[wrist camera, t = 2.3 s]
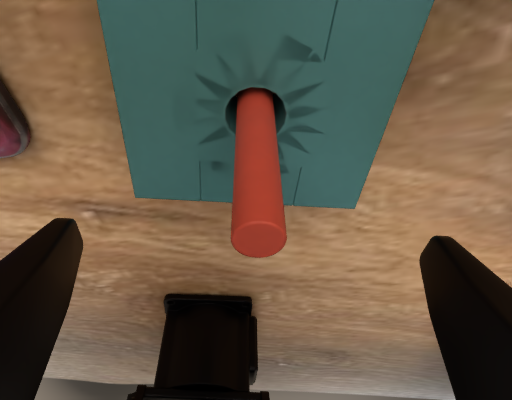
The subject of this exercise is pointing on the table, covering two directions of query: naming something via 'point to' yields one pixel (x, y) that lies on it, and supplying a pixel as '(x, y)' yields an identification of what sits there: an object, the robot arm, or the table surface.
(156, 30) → the block
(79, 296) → the table surface
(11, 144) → the eraser
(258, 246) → the red rod
